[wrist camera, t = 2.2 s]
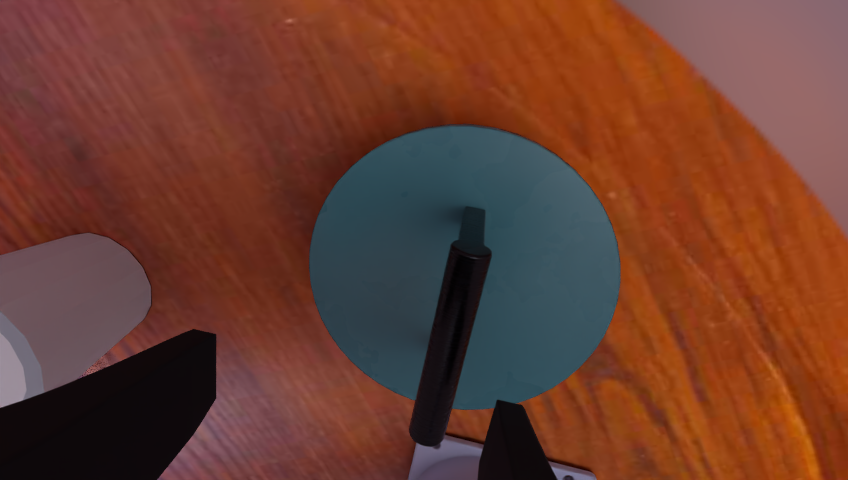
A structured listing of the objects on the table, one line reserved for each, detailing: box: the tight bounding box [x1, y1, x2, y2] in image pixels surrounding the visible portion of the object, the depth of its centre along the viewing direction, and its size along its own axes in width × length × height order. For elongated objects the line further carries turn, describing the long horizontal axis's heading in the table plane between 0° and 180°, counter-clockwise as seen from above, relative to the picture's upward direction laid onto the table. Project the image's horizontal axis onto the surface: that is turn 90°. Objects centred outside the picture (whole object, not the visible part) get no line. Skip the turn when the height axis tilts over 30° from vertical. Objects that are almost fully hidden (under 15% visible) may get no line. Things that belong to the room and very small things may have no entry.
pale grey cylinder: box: [0, 233, 151, 408], centre depth 21 cm, size 7×7×7 cm
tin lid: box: [309, 124, 620, 447], centre depth 14 cm, size 11×11×6 cm
